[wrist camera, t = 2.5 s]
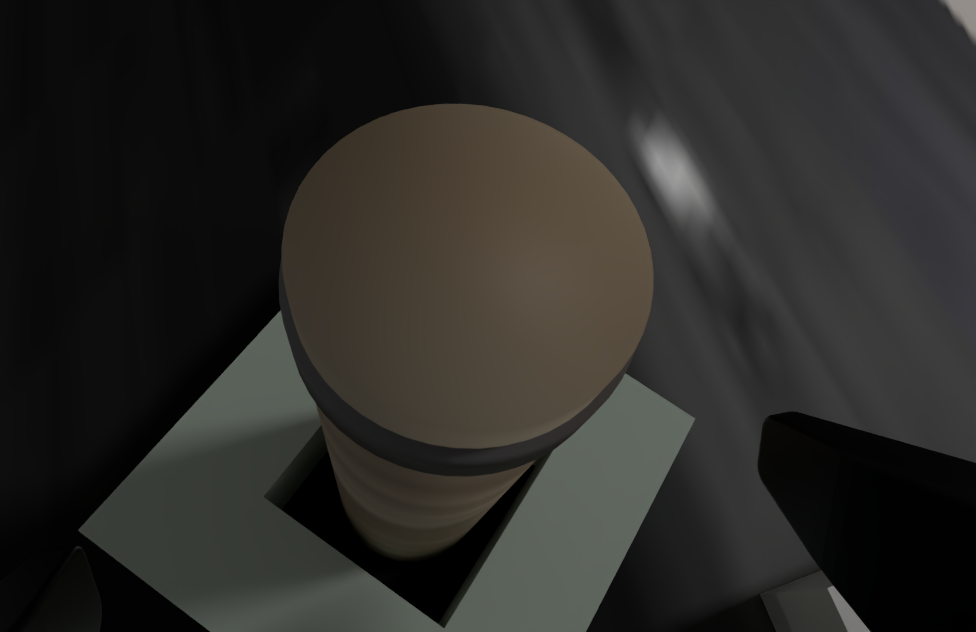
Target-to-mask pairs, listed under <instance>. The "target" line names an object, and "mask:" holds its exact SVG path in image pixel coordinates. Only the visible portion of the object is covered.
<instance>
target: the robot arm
mask: <svg viewBox="0 0 976 632" xmlns="http://www.w3.org/2000/svg"><path fill="white" fill-rule="evenodd" d="M757 465H758V472H759V476H760V478H761V480H762V482H763V484H764V485H765V487H766V488H767V490H768V491H769V493H770V494H771V496H772V498H773V499H774V501H775V502H776V504H777V505H778V507H779V508H780V510H781V511H782V513H783V514H784V516H785V517H786V519H787V520H788V522H789V523H790V525H791V526H792V528H793V529H794V531H795V532H796V534H797V535H798V537H799V538H800V540H801V541H802V543H803V544H804V546H805V547H806V549H807V551H808V552H809V554H810V555H811V556H812V558H813V559H814V561H815V562H816V564H817V565H818V566H819V568H820V569H821V570H822V572H823V573H824V574H825V576H826V577H827V578H828V580H829V581H830V582H831V584H832V585H833V586H834V587H835V588H836V590H837V591H838V592H839V593H840V595H841V596H842V597H843V598H844V600H845V601H846V602H847V603H848V605H849V606H850V607H851V608H852V610H853V611H854V612H855V613H856V615H857V616H858V617H859V618H860V620H861V621H862V622H863V623H864V624H865V626H866V627H867V628H868V629H869V631H870V632H976V463H974V462H971V461H967V460H964V459H960V458H957V457H953V456H950V455H946V454H943V453H939V452H936V451H932V450H929V449H925V448H922V447H918V446H915V445H911V444H908V443H904V442H900V441H897V440H893V439H890V438H886V437H883V436H879V435H876V434H872V433H869V432H865V431H862V430H858V429H855V428H851V427H848V426H844V425H841V424H837V423H834V422H830V421H827V420H823V419H820V418H816V417H813V416H809V415H806V414H802V413H799V412H785V413H779V414H774V415H770V416H768V417H767V418H766V419H765V420H764V422H763V425H762V431H761V439H760V447H759V455H758V464H757ZM101 616H102V609H101V600H100V596H99V593H98V590H97V587H96V584H95V581H94V578H93V575H92V572H91V569H90V566H89V563H88V560H87V557H86V554H85V552H84V551H83V549H82V548H81V547H79V546H77V545H69V546H64V547H58V548H53V549H48V550H43V551H40V552H38V553H36V554H35V555H34V556H32V557H31V558H30V559H28V560H27V561H26V562H25V563H23V564H22V565H21V566H20V567H18V568H17V569H16V570H15V571H13V572H12V573H11V574H10V575H8V576H7V577H6V578H5V579H3V580H2V581H1V582H0V632H99V630H100V624H101Z"/></svg>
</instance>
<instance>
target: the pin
mask: <svg viewBox="0 0 976 632" xmlns="http://www.w3.org/2000/svg"><path fill="white" fill-rule="evenodd" d="M652 296H653V264H652V257H651V250H650V246H649V243H648V239H647V235H646V232H645V229H644V227H643V224H642V222H641V219H640V217H639V215H638V212H637V210H636V209H635V207H634V205H633V203H632V202H631V200H630V198H629V196H628V195H627V193H626V192H625V190H624V189H623V188H622V186H621V185H620V184H619V182H618V181H617V180H616V178H615V177H614V176H613V175H612V174H611V173H610V172H609V171H608V170H607V168H606V167H605V166H604V165H603V164H602V163H601V162H600V161H599V160H598V159H597V158H595V157H594V156H593V155H592V154H591V153H589V152H588V151H587V150H586V149H585V148H584V147H582V146H581V145H579V144H578V143H576V142H575V141H573V140H572V139H571V138H569V137H568V136H566V135H564V134H563V133H561V132H559V131H557V130H555V129H553V128H552V127H550V126H548V125H546V124H543V123H541V122H539V121H536V120H534V119H531V118H529V117H527V116H523V115H520V114H517V113H513V112H510V111H507V110H502V109H497V108H492V107H487V106H480V105H469V104H438V105H429V106H420V107H416V108H411V109H407V110H402V111H398V112H395V113H392V114H389V115H387V116H384V117H381V118H378V119H376V120H374V121H372V122H370V123H368V124H366V125H364V126H362V127H360V128H358V129H356V130H355V131H353V132H352V133H350V134H349V135H347V136H346V137H344V138H343V139H341V140H340V141H339V142H338V143H336V144H335V145H334V146H333V147H332V148H331V149H329V150H328V151H327V152H326V153H325V154H324V155H323V156H322V157H321V158H320V160H319V161H318V162H317V163H316V164H315V165H314V166H313V167H312V169H311V170H310V171H309V173H308V174H307V176H306V177H305V179H304V180H303V182H302V184H301V185H300V187H299V189H298V191H297V193H296V195H295V197H294V199H293V202H292V204H291V206H290V209H289V213H288V216H287V219H286V223H285V226H284V234H283V241H282V257H281V265H280V273H279V302H280V308H281V314H282V319H283V324H284V328H285V331H286V334H287V337H288V341H289V344H290V347H291V351H292V354H293V357H294V360H295V363H296V366H297V369H298V372H299V374H300V376H301V378H302V380H303V382H304V384H305V386H306V388H307V390H308V392H309V394H310V395H311V397H312V398H313V400H314V401H315V403H316V407H317V411H318V414H319V418H320V422H321V426H322V429H323V433H324V437H325V441H326V444H327V448H328V452H329V456H330V459H331V463H332V467H333V471H334V474H335V478H336V482H337V486H338V489H339V493H340V497H341V501H342V504H343V508H344V512H345V515H346V518H347V521H348V523H349V525H350V527H351V529H352V530H353V532H354V533H355V535H356V536H357V537H358V538H359V539H360V541H361V542H362V543H363V544H364V545H366V546H367V547H368V548H369V549H371V550H372V551H374V552H375V553H377V554H379V555H381V556H383V557H386V558H388V559H392V560H395V561H402V562H417V561H424V560H428V559H431V558H434V557H436V556H439V555H441V554H443V553H444V552H446V551H448V550H449V549H451V548H452V547H453V546H454V545H456V544H457V543H458V542H459V541H460V540H461V539H462V538H463V537H464V536H465V535H466V533H467V532H468V531H469V530H470V529H471V528H472V527H473V526H474V525H475V524H476V523H477V522H478V521H479V520H480V519H481V518H482V517H483V516H484V514H485V513H486V512H487V511H488V510H489V509H490V508H491V507H492V506H493V505H494V504H495V503H496V502H497V501H498V500H499V499H500V498H501V497H502V496H503V494H504V493H505V492H506V491H507V490H508V489H509V488H510V487H511V486H512V485H513V484H514V483H515V482H516V481H517V480H518V479H519V478H520V477H521V475H522V474H523V473H524V472H525V471H526V470H527V469H528V468H529V467H530V466H531V465H532V464H533V463H534V462H535V461H536V460H537V459H538V458H540V457H542V456H544V455H545V454H547V453H549V452H550V451H552V450H554V449H556V448H557V447H558V446H559V445H561V444H562V443H563V442H564V441H566V440H567V439H568V438H570V437H571V436H572V435H573V434H574V433H575V432H576V431H577V430H578V429H579V428H580V427H581V426H582V425H583V424H584V423H585V422H586V421H587V420H588V419H589V418H590V417H591V416H592V415H593V414H594V413H595V412H596V411H597V410H598V409H599V408H600V407H601V406H602V405H603V404H604V403H605V402H606V401H607V400H608V399H609V397H610V396H611V395H612V393H613V392H614V390H615V389H616V387H617V386H618V385H619V383H620V382H621V380H622V379H623V377H624V374H625V372H626V370H627V368H628V366H629V364H630V362H631V360H632V357H633V354H634V351H635V349H636V347H637V345H638V343H639V341H640V339H641V337H642V335H643V333H644V330H645V327H646V323H647V320H648V317H649V314H650V309H651V303H652Z"/></svg>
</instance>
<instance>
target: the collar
mask: <svg viewBox="0 0 976 632" xmlns="http://www.w3.org/2000/svg"><path fill="white" fill-rule="evenodd" d="M694 420H695V418H693V417H692V416H690V415H689V414H687V413H685V412H684V411H682V410H681V409H679V408H678V407H676V406H675V405H673V404H672V403H670V402H669V401H667V400H665V399H664V398H662V397H661V396H659V395H658V394H656V393H655V392H653V391H652V390H650V389H649V388H647V387H645V386H644V385H642V384H641V383H639V382H638V381H636V380H635V379H633V378H632V377H630V376H629V375H627V374H624V377H623V379H622V380H621V382H620V383H619V385H618V386H617V387H616V389H615V390H614V392H613V393H612V395H611V396H610V397H609V399H608V400H607V401H606V402H605V403H604V404H603V405H602V406H601V407H600V408H599V409H598V410H597V411H596V412H595V413H594V414H593V415H592V416H591V417H590V418H589V419H588V420H587V421H586V422H585V423H584V424H583V425H582V426H581V427H580V428H579V429H578V430H577V431H576V432H575V433H574V434H573V435H572V436H571V437H570V438H568V439H567V440H566V441H564V442H563V443H562V444H561V445H559V446H558V447H557V448H556V449H554V450H552V451H550V452H549V453H547V454H545V455H544V456H542V457H540V458H538V459H537V460H536V461H535V462H534V463H533V465H534V466H535V468H534V469H533V471H532V473H531V474H530V476H529V477H528V479H527V481H526V482H525V484H524V486H523V487H522V489H521V490H520V492H519V494H518V495H517V497H516V498H515V500H514V502H513V503H512V505H511V507H510V508H509V510H508V511H507V513H506V515H505V516H504V518H503V520H502V521H501V523H500V524H499V526H498V528H497V529H496V531H495V532H494V534H493V536H492V537H491V539H490V541H489V542H488V544H487V545H486V547H485V549H484V550H483V552H482V554H481V555H480V557H479V558H478V560H477V562H476V563H475V565H474V566H473V568H472V570H471V571H470V573H469V575H468V576H467V578H466V579H465V581H464V583H463V584H462V586H461V588H460V589H459V591H458V592H457V594H456V596H455V597H454V599H453V600H452V602H451V604H450V605H449V607H448V609H447V610H446V612H445V613H444V615H443V617H442V618H441V620H440V622H439V623H438V624H437V623H436V622H434V621H433V620H432V619H430V618H429V617H428V616H426V615H425V614H423V613H422V612H421V611H419V610H418V609H417V608H415V607H414V606H412V605H411V604H410V603H408V602H407V601H406V600H404V599H403V598H401V597H400V596H399V595H397V594H396V593H395V592H393V591H392V590H390V589H389V588H388V587H386V586H385V585H384V584H382V583H381V582H379V581H378V580H377V579H375V578H374V577H373V576H371V575H370V574H369V573H367V572H366V571H364V570H363V569H362V568H360V567H359V566H358V565H356V564H355V563H353V562H352V561H351V560H349V559H348V558H347V557H345V556H344V555H342V554H341V553H340V552H338V551H337V550H336V549H334V548H333V547H331V546H330V545H329V544H327V543H326V542H325V541H323V540H322V539H320V538H319V537H318V536H316V535H315V534H314V533H312V532H311V531H309V530H308V529H307V528H305V527H304V526H303V525H301V524H300V523H298V522H297V521H296V520H294V519H293V518H292V517H290V516H289V515H287V514H286V513H285V512H283V511H282V509H283V508H284V506H285V505H286V504H287V502H288V501H289V500H290V499H291V497H292V496H293V495H294V494H295V492H296V491H297V490H298V488H299V487H300V486H301V485H302V483H303V482H304V481H305V480H306V478H307V477H308V476H309V474H310V473H311V472H312V471H313V469H314V468H315V467H316V466H317V464H318V463H319V462H320V460H321V459H322V458H323V457H324V455H325V454H326V453H327V452H328V448H327V444H326V441H325V437H324V433H323V429H322V426H321V422H320V418H319V414H318V411H317V407H316V403H315V401H314V400H313V398H312V397H311V395H310V394H309V392H308V390H307V388H306V386H305V384H304V382H303V380H302V378H301V376H300V374H299V372H298V369H297V366H296V363H295V360H294V357H293V354H292V351H291V347H290V344H289V341H288V337H287V334H286V331H285V328H284V324H283V319H282V314H281V310H280V312H279V313H278V314H277V315H276V316H275V317H274V318H273V319H272V320H271V321H270V322H269V323H268V325H267V326H266V327H265V328H264V329H263V330H262V331H261V332H260V333H259V334H258V335H257V336H256V338H255V339H254V340H253V341H252V342H251V343H250V344H249V345H248V346H247V347H246V348H245V349H244V351H243V352H242V353H241V354H240V355H239V356H238V357H237V358H236V359H235V360H234V361H233V363H232V364H231V365H230V366H229V367H228V368H227V369H226V370H225V371H224V372H223V373H222V374H221V376H220V377H219V378H218V379H217V380H216V381H215V382H214V383H213V384H212V385H211V386H210V387H209V389H208V390H207V391H206V392H205V393H204V394H203V395H202V396H201V397H200V398H199V399H198V401H197V402H196V403H195V404H194V405H193V406H192V407H191V408H190V409H189V410H188V411H187V412H186V414H185V415H184V416H183V417H182V418H181V419H180V420H179V421H178V422H177V423H176V424H175V425H174V427H173V428H172V429H171V430H170V431H169V432H168V433H167V434H166V435H165V436H164V437H163V438H162V440H161V441H160V442H159V443H158V444H157V445H156V446H155V447H154V448H153V449H152V450H151V452H150V453H149V454H148V455H147V456H146V457H145V458H144V459H143V460H142V461H141V462H140V463H139V465H138V466H137V467H136V468H135V469H134V470H133V471H132V472H131V473H130V474H129V475H128V476H127V478H126V479H125V480H124V481H123V482H122V483H121V484H120V485H119V486H118V487H117V488H116V490H115V491H114V492H113V493H112V494H111V495H110V496H109V497H108V498H107V499H106V500H105V501H104V503H103V504H102V505H101V506H100V507H99V508H98V509H97V510H96V511H95V512H94V513H93V514H92V516H91V517H90V518H89V519H88V520H87V521H86V522H85V523H84V524H83V525H82V526H81V527H80V529H79V530H78V531H79V532H81V533H82V534H83V535H85V536H86V537H87V538H88V539H90V540H91V541H92V542H94V543H95V544H96V545H98V546H99V547H100V548H102V549H103V550H104V551H105V552H107V553H108V554H109V555H111V556H112V557H113V558H115V559H116V560H117V561H119V562H120V563H121V564H122V565H124V566H125V567H126V568H128V569H129V570H130V571H132V572H133V573H134V574H135V575H137V576H138V577H139V578H141V579H142V580H143V581H145V582H146V583H147V584H149V585H150V586H151V587H152V588H154V589H155V590H156V591H158V592H159V593H160V594H162V595H163V596H164V597H166V598H167V599H168V600H169V601H171V602H172V603H173V604H175V605H176V606H177V607H179V608H180V609H181V610H183V611H184V612H185V613H186V614H188V615H189V616H190V617H192V618H193V619H194V620H196V621H197V622H198V623H199V624H201V625H202V626H203V627H205V628H206V629H207V630H209V631H210V632H586V630H587V628H588V626H589V625H590V623H591V621H592V619H593V617H594V615H595V613H596V611H597V609H598V607H599V605H600V603H601V601H602V599H603V597H604V595H605V593H606V591H607V590H608V588H609V586H610V584H611V582H612V580H613V578H614V576H615V574H616V572H617V570H618V568H619V566H620V564H621V562H622V560H623V558H624V556H625V555H626V553H627V551H628V549H629V547H630V545H631V543H632V541H633V539H634V537H635V535H636V533H637V531H638V529H639V527H640V525H641V523H642V521H643V520H644V518H645V516H646V514H647V512H648V510H649V508H650V506H651V504H652V502H653V500H654V498H655V496H656V494H657V492H658V490H659V488H660V486H661V485H662V483H663V481H664V479H665V477H666V475H667V473H668V471H669V469H670V467H671V465H672V463H673V461H674V459H675V457H676V455H677V453H678V451H679V450H680V448H681V446H682V444H683V442H684V440H685V438H686V436H687V434H688V432H689V430H690V428H691V426H692V424H693V422H694Z"/></svg>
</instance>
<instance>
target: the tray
mask: <svg viewBox="0 0 976 632" xmlns="http://www.w3.org/2000/svg"><path fill="white" fill-rule="evenodd" d="M760 596H761V598H762V600H763V603H764V605H765V607H766V610H767V612H768V614H769V616H770V619H771V621H772V623H773V626H774V628H775V630H776V632H870V631H869V629H868V628H867V627H866V626H865V624H864V623H863V622H862V621H861V620H860V618H859V617H858V616H857V615H856V613H855V612H854V611H853V610H852V608H851V607H850V606H849V605H848V603H847V602H846V601H845V600H844V598H843V597H842V596H841V595H840V593H839V592H838V591H837V590H836V588H835V587H834V586H833V585H832V584H831V582H830V581H829V580H828V578H827V577H826V576H825V574H824V573H823V572H822V570H820V571H817V572H815V573H812V574H810V575H807V576H805V577H802V578H800V579H797V580H794V581H792V582H789V583H787V584H784V585H782V586H779V587H777V588H774V589H772V590H769V591H766V592H764V593H761V594H760Z"/></svg>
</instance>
